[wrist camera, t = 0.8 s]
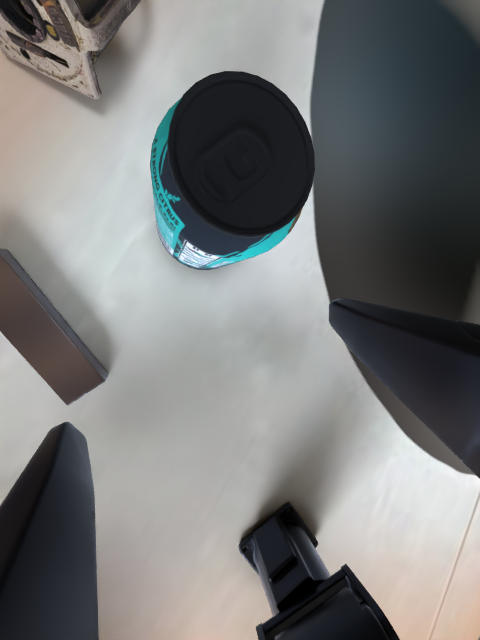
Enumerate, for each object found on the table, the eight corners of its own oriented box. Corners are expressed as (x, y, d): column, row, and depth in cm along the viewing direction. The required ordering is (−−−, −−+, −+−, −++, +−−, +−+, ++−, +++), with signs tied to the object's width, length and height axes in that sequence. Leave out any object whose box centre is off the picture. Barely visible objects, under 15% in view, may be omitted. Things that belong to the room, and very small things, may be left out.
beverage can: (260, 235, 23) (358, 184, 11) (198, 288, 22) (236, 290, 10) (206, 160, 21) (259, 8, 9) (136, 215, 20) (99, 121, 8)
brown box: (109, 374, 21) (105, 381, 19) (74, 397, 20) (67, 406, 19) (7, 249, 18) (-7, 246, 17) (-37, 272, 17) (-55, 271, 16)
